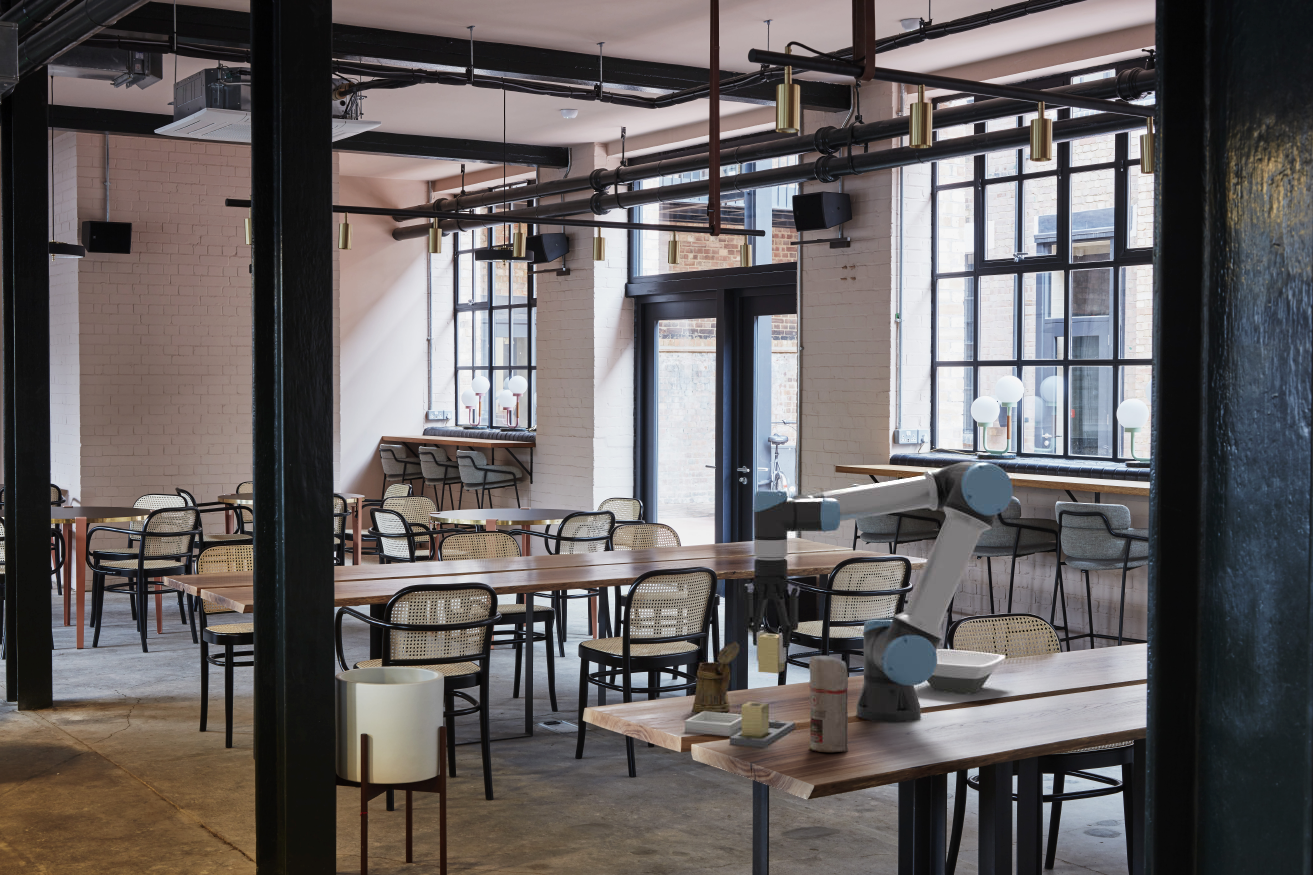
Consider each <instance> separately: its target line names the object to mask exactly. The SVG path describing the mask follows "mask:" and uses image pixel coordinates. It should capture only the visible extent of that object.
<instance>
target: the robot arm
mask: <svg viewBox="0 0 1313 875" xmlns="http://www.w3.org/2000/svg"><path fill="white" fill-rule="evenodd" d="M1013 489H1014V487H1013V483H1012V480H1011V478H1010V476H1009V474H1008V473H1007V472H1006V471H1005V470H1004V469H1003V468H1002V467H1000V466H998V465H996V464H993V463H991V462H988V461H963V462H959V463H955V464H952V465H948V466H943V467H941V468H936V469H931V470H925V472H924V473H923V475H920V476H914V477H908V478H901V479H896V480H888V481H885V482H879V483H878V482H877V483H871V484H870V483H869V484H864V485H859V486H853V487H847V488H841V489H834V490H828V491H823V492H822V491H821V492H815V493H810V494H797V495H794V496H791V497H790V498H789V496H788V493H787V490H784V489H760V490H757V491H756V492H755V493H754V500H753V501H754V504H753V510H752V511H753V533H754V534H753V536H754V539H753V548H754V549H753V556H754V557H755V559H754V560H753V562H754V564H753V568H754V569H753V570H754V577H753V580H752V582H751V583H749V584H748V583H746V584H744V585H742V586H741V589H742V593H743V597H744V598H743V600H744V605H743V606H744V607H743V608H744V627H745V629H748V630H750V631H752V645H753V646H755V647H756V661H757V662H758V636H761V635H763V634H765V631H764V630H762V629H763V628H762V625H763V624H762V623H763V619H764V615H765V610H766V606H767V603H768V600H773V601H774V604H775V606H776V611H777V615H778V621H779V624H780V628H781V631H780V633H778V634H779V663H783V662H784V663H785V662H787V648H790V646H791V632H794V631H797V630H798V629H799V597H800V596H799V595H800V593H801V587H800V586H795V585H793V584H791V583H790V581H789V578H788V576H789V575H788V571H789V570H788V569H789V568H788V560H787V558H786V557H787V556H788V532H793V533H794V532H824V533H825V532H834V531H837V530H838V529H839V527H840V526H841V522H845V521H851V520H856V519H857V520H858V519H863V518H869V517H875V516H883V515H888V514H889V515H890V514H894V513H900V512H907V511H912V510H919V509H924V508H929V509H930V510H932V511H939V510H943V512H944V513H945V519H944V522H943V523H942V526H941V528H940V530H939V533H938V534H937V538H936V539H935V542H934V544H933V546H932V548H931V549H930V550H931V551H930V552H929V555H928V557H927V560H926V562H925V564H924V566H923V568H922V570H921V572H920V575H919V577H918V579H917V582H916V584H915V587H914V588H913V591H912V593H911V595H910V597H909V599H908V602H907V604H906V605H905V608H904V611H903V612H901V613H900V612H899V613H897V614H896V615H894V617H893V619H870V620H867V621H865V623H864V625H863V626H864V627H863V632H862V635H863V684H862V688H861V690H860V694H859V697H858V700H857V703H856V716H857V717H859V718H860V719H861V718H862V719H864V720H868V721H874V722H875V721H876V722H883V723H884V722H887V723H897V722H898V723H900V722H901V723H902V722H912V721H917V720H919V719H920V718H921V717H922V716H921V713H922V709H921V704H920V702H919V698H918V695H917V692H916V689H915V686H917V685H920V684H922V683H924V682H925V681H926V682H927V679H929V678H930V677H931V675H932V674H933V673H934V671H935V669H936V666H937V653H936V650H937V649H939V645H940V643H941V640H942V639H943V636H942V634H941V633H942V632H941V630H940V626H941V624H942V622H943V619H944V617H945V615H946V614H947V611H948V608H949V606H950V604H951V602H952V599H953V597H954V596H955V592H956V590H957V589H958V585H959V584H960V581H961V579H962V577H963V575H964V573H965V570H966V569H967V568H966V567H967V566H968V563H969V561H970V559H971V558H972V555H973V552H974V550H975V548H976V546H977V543H978V541H979V539H980V537H981V534H982V533H983V532H985V531H988V530H991V529H992V527H993V525H994V522H995V520H996V518H997V516H998V514H1000V513H1002V512H1003V511H1004V510H1006V508H1008V506H1009V505H1010V503H1011V501H1012V499H1013V493H1014V492H1013ZM754 591H756V592H757V594H758V598H757V605H756V610H755V615H754ZM786 591H788V594H789V617H788V613H787V608H786V604H785V601H786V600H785V595H784V594H785V593H786Z"/></svg>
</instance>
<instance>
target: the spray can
mask: <svg viewBox="0 0 1313 875" xmlns="http://www.w3.org/2000/svg"><path fill="white" fill-rule="evenodd" d="M808 669H809V689H810V691H809V692H810V695H809V696H810V699H809V700H810V701H809V702H810V704H809V705H810V706H809V707H810V713H809V715H810V716H809V717H810V736H809V737H810V744H809V747H808V748H809V749H810V750H811V751H816V752H818V753H819V752H820V753H838V752H847V751H848V750H849V748H848V722H849V721H848V718H849V717H848V716H849V715H848V714H849V713H848V712H849V711H848V706H849V705H848V695H849V694H848V686H849V680H848V679H849V678H848V670H847V669H848V668H847V663H846V661H845V660H841V659H840V658H838V657H834V656H829V655H814V656H811V658H810V660H809V668H808Z"/></svg>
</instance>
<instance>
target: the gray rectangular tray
mask: <svg viewBox="0 0 1313 875" xmlns="http://www.w3.org/2000/svg"><path fill="white" fill-rule="evenodd" d="M795 729H796V722H795V721H786V720H777V719H776V720H774V719H769V736H767V737H765V738H764V739H762V738H752V737H743V736H742V730H741V731H739V732H737V733H735V734H734V735H732V736H729V744H730V745H739V746H744V747H745V746H746V747H755V748H765V749H766V747H768V746H770V745H772V743H774V742H776V741H778V739H781V738H782V737H784V736H786V735H787V734H788V733H790V732H792V731H794V730H795Z"/></svg>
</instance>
